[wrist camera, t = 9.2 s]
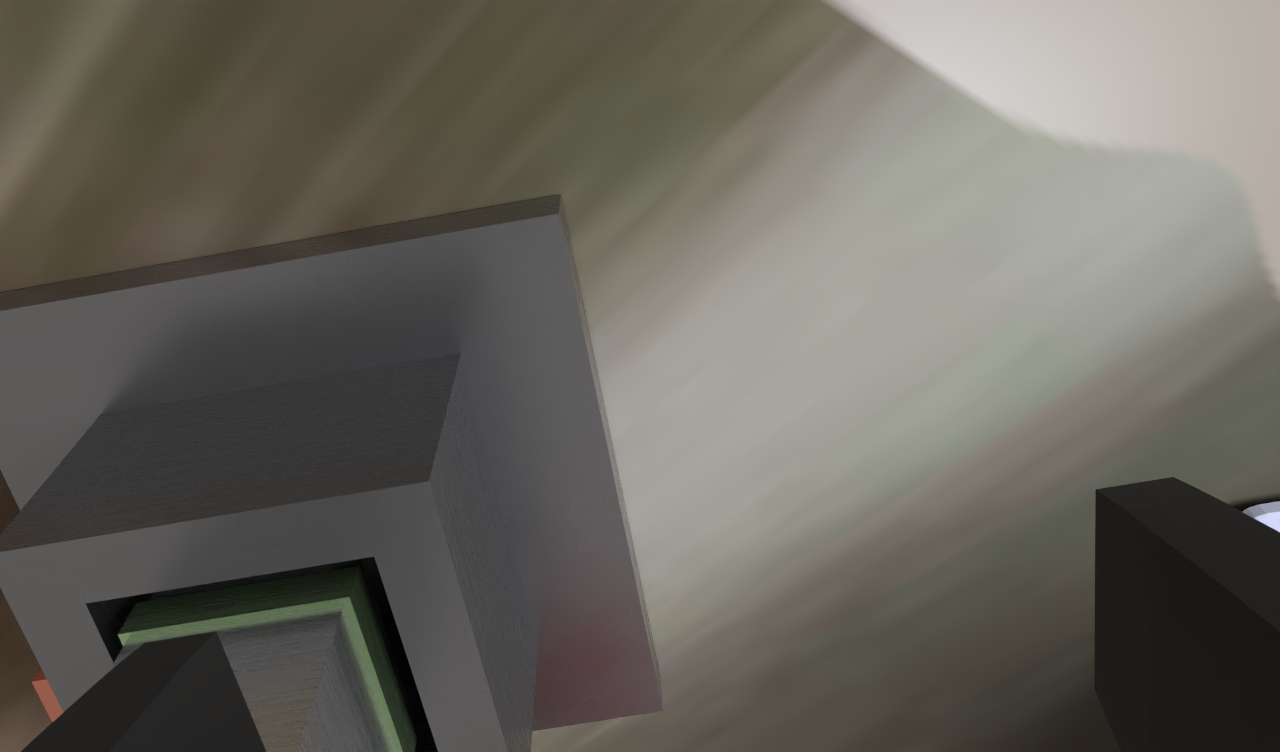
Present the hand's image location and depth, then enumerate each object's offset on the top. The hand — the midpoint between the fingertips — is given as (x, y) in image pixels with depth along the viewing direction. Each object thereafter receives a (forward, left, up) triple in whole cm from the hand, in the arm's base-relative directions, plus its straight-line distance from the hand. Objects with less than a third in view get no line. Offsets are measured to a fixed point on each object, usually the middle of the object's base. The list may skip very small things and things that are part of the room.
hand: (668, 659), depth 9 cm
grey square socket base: (+6, +4, -10) cm, 13 cm away
